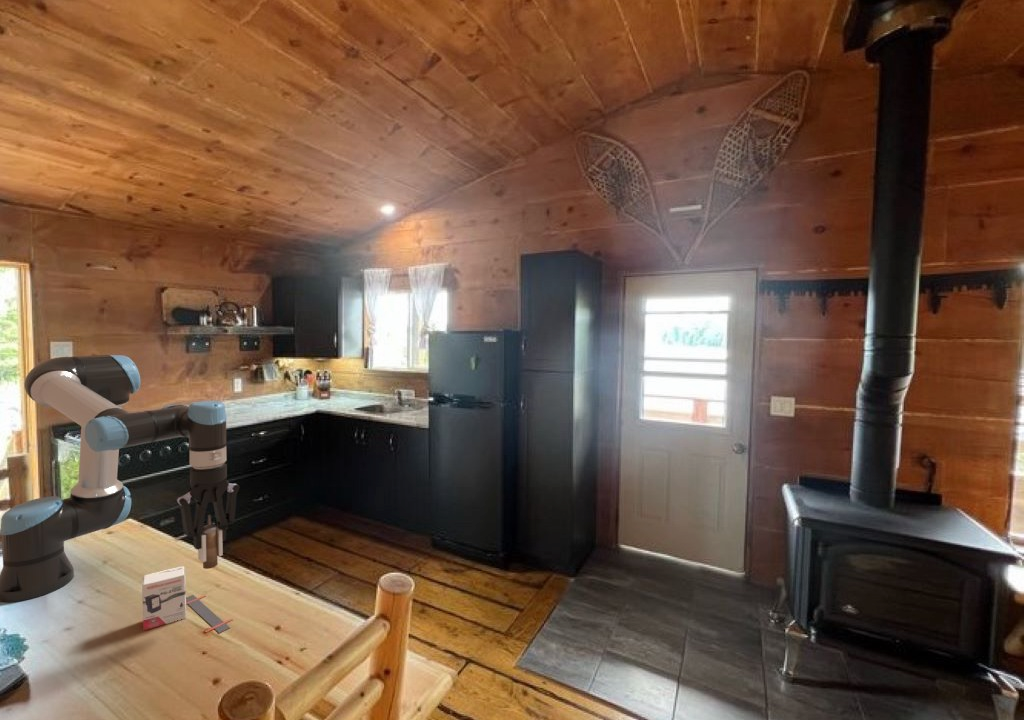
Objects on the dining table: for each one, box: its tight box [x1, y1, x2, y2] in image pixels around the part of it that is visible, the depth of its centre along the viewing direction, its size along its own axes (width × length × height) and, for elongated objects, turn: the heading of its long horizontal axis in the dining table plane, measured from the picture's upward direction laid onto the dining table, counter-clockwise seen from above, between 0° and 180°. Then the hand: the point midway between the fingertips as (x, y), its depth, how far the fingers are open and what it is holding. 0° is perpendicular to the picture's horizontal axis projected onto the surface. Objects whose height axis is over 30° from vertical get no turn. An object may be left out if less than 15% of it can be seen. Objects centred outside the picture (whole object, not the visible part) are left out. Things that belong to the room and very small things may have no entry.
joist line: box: [186, 594, 234, 634], centre depth 116 cm, size 22×6×1 cm, turn 55°
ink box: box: [141, 565, 187, 631], centre depth 113 cm, size 8×5×12 cm, turn 127°
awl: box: [202, 514, 218, 570], centre depth 113 cm, size 3×3×13 cm
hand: (210, 556), depth 113 cm, fingers closed on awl, 3 cm apart
